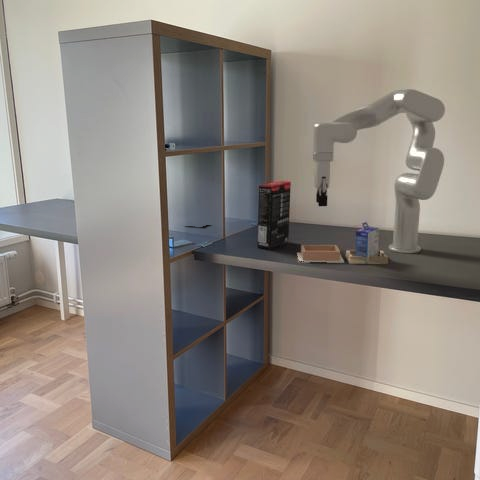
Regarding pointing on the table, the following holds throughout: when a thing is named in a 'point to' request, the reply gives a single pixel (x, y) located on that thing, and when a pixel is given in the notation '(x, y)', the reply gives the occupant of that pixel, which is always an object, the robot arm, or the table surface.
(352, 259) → the beige rectangular frame
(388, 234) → the table surface
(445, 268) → the table surface
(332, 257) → the tray
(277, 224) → the graphics card box
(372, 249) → the ink cartridge box
